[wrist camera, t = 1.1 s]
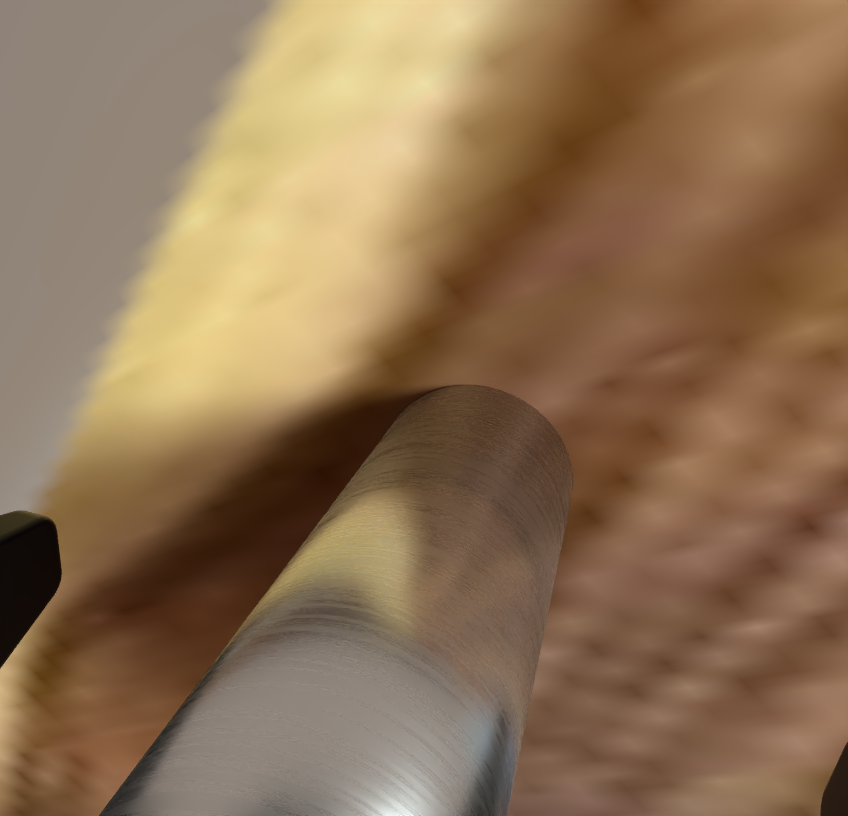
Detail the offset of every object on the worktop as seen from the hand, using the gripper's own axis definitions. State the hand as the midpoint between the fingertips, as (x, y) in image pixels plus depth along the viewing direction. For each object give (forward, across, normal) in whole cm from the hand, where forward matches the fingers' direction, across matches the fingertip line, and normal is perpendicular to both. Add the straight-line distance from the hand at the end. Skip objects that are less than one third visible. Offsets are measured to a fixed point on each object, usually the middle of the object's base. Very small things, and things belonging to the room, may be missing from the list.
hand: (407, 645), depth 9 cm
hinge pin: (+4, 0, 0) cm, 4 cm away
